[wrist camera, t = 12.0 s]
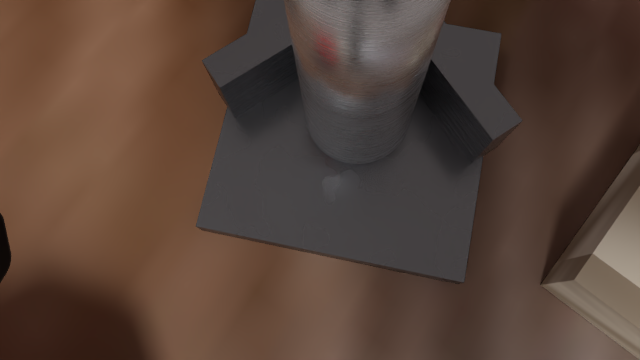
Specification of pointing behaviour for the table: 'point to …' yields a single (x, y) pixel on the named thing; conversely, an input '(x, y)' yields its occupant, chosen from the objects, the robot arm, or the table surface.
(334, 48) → the axle
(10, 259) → the robot arm
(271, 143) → the V-block
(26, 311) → the table surface
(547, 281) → the block with rectangular hole
